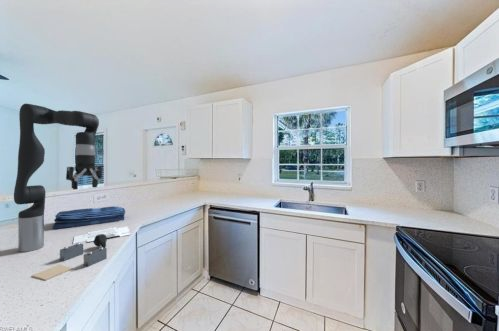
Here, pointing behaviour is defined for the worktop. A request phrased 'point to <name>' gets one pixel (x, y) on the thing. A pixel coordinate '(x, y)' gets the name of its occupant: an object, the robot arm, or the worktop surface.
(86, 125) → the robot arm
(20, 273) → the worktop surface
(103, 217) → the towel
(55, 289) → the worktop surface
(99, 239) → the power plug
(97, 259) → the metal blocks
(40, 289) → the worktop surface
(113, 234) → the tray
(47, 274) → the mat
